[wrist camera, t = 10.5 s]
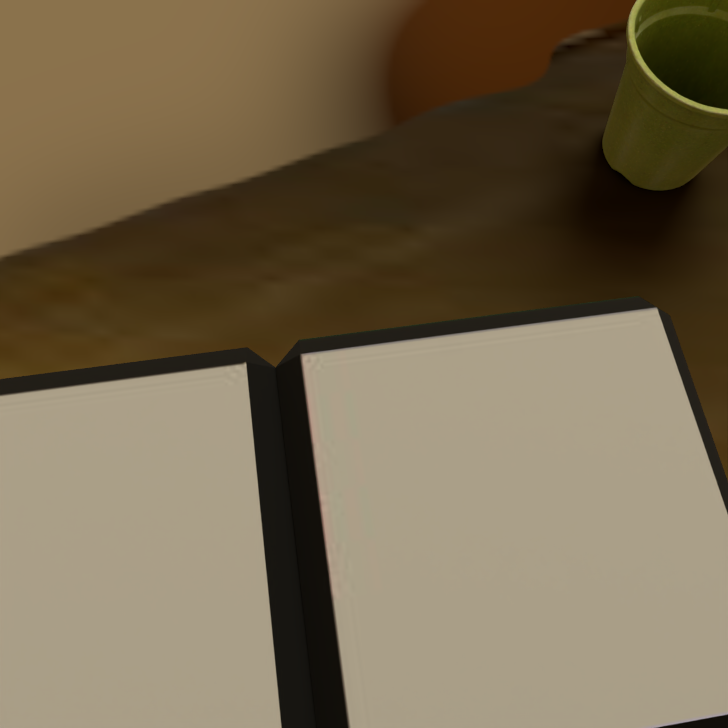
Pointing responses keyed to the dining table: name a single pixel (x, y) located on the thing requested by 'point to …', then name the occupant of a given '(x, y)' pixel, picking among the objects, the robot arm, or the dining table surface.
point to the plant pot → (670, 93)
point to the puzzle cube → (370, 533)
